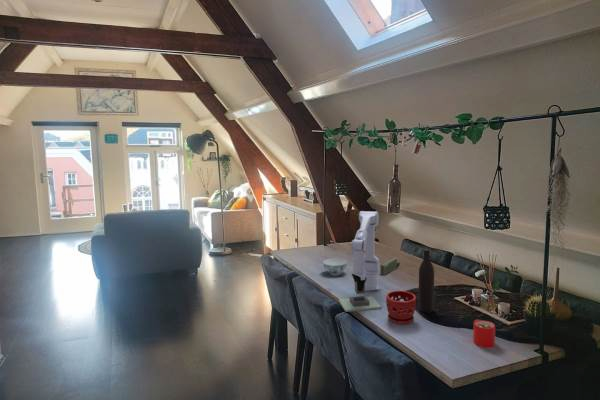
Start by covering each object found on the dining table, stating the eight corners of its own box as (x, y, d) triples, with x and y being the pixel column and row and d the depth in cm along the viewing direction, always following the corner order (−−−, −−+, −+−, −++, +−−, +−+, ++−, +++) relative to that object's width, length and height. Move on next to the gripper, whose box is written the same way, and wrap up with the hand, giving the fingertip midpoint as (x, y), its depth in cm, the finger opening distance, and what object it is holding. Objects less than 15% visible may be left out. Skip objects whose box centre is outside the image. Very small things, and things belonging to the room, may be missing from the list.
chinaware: (352, 272, 261) (351, 261, 260) (337, 279, 250) (337, 266, 249) (333, 268, 271) (332, 257, 270) (318, 274, 260) (318, 262, 259)
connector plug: (354, 291, 211) (354, 279, 210) (362, 290, 211) (362, 279, 210) (356, 294, 207) (356, 282, 206) (364, 293, 207) (364, 281, 206)
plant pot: (380, 318, 193) (380, 294, 191) (401, 312, 199) (401, 288, 197) (400, 329, 181) (400, 303, 180) (422, 322, 188) (422, 296, 186)
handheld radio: (379, 275, 256) (396, 264, 276) (384, 276, 254) (401, 265, 274) (379, 264, 255) (396, 255, 275) (384, 265, 253) (401, 256, 273)
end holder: (338, 301, 215) (338, 295, 215) (372, 298, 218) (372, 292, 218) (345, 311, 202) (345, 306, 201) (381, 308, 204) (381, 302, 204)
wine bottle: (433, 308, 203) (433, 248, 199) (434, 313, 196) (435, 251, 192) (418, 307, 204) (418, 247, 200) (419, 313, 198) (419, 251, 194)
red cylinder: (482, 333, 175) (482, 315, 174) (498, 346, 164) (499, 327, 162) (464, 334, 175) (464, 316, 173) (479, 348, 163) (480, 329, 162)
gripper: (371, 266, 200) (371, 293, 202) (362, 258, 215) (362, 284, 216) (356, 267, 199) (357, 295, 201) (349, 259, 214) (349, 285, 215)
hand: (359, 289), depth 209 cm, fingers closed on connector plug, 4 cm apart
